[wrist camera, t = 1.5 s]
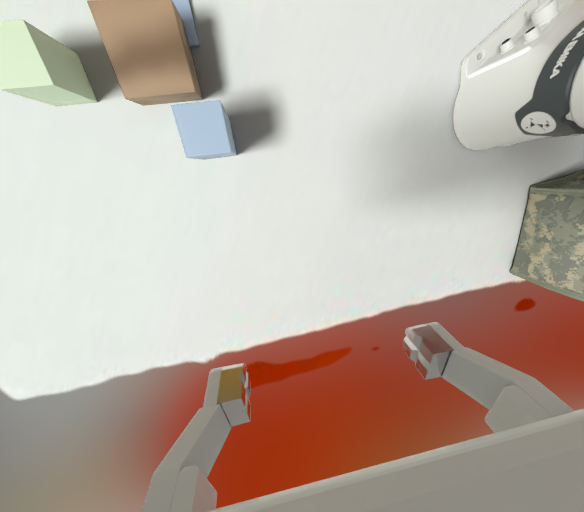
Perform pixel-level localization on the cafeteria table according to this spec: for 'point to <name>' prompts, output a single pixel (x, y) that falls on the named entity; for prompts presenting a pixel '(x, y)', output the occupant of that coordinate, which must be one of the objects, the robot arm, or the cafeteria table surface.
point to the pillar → (204, 130)
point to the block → (41, 67)
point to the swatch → (187, 20)
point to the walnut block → (147, 50)
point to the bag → (554, 237)
